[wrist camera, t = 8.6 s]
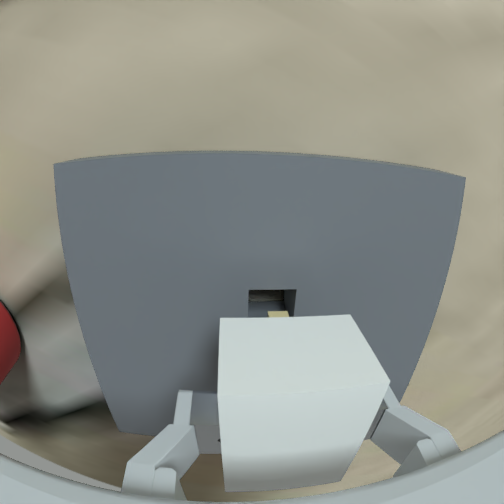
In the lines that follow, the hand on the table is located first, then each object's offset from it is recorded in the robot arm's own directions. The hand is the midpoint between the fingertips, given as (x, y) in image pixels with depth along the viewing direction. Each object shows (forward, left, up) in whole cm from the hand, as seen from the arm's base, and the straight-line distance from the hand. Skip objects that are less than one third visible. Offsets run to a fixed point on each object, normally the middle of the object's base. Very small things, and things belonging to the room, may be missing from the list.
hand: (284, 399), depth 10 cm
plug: (0, 0, -3) cm, 3 cm away
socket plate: (0, 0, -6) cm, 6 cm away
